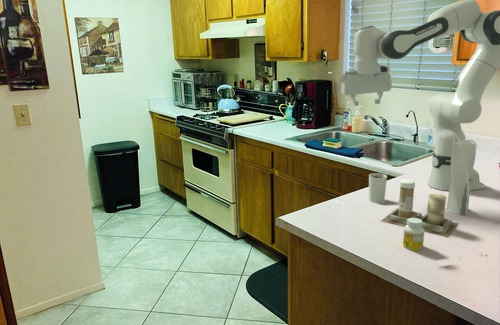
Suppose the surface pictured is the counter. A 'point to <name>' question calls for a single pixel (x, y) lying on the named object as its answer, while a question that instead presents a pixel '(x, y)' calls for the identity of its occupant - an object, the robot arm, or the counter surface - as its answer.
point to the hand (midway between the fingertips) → (366, 104)
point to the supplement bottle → (413, 235)
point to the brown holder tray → (429, 228)
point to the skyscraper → (461, 174)
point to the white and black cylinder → (377, 187)
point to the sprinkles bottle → (406, 198)
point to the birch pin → (436, 209)
